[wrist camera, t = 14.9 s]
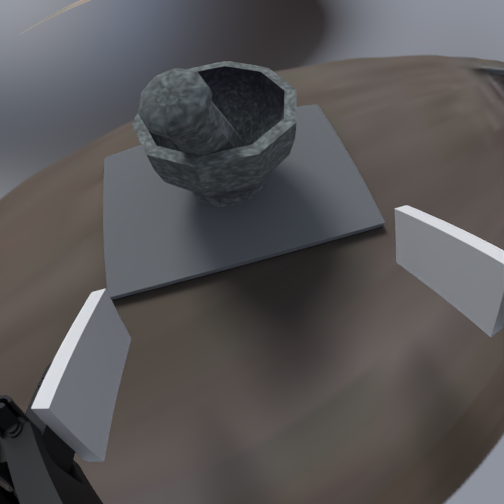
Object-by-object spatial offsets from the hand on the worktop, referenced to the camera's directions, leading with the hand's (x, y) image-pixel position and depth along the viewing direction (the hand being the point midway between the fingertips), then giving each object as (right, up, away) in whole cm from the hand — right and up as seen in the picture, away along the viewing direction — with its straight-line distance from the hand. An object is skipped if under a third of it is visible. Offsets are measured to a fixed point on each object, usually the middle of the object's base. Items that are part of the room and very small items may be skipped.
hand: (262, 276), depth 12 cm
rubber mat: (-2, +6, +10) cm, 12 cm away
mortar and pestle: (-2, +6, +9) cm, 11 cm away
